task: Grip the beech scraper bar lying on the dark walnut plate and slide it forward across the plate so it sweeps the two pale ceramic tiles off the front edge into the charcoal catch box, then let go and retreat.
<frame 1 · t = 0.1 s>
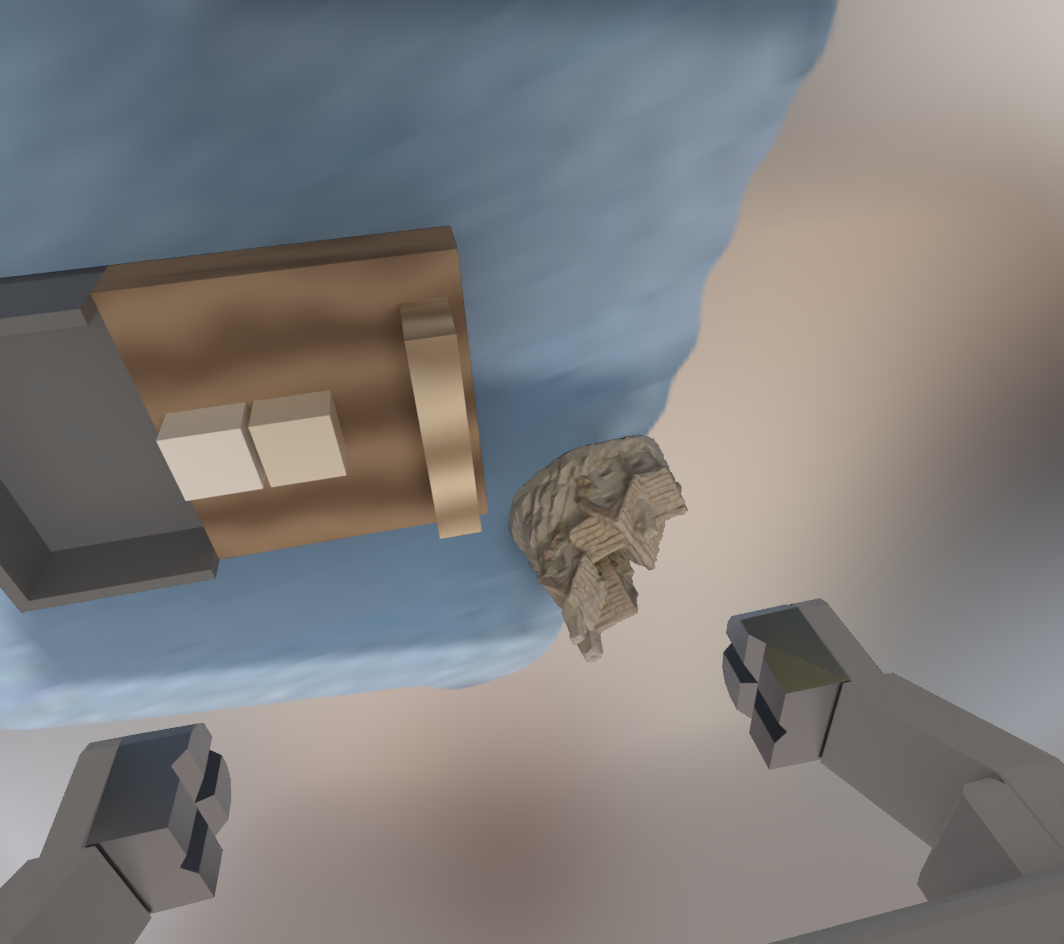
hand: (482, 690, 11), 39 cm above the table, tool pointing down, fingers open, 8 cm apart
scraper bar: (439, 405, 49), point 4 cm above the table, touching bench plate
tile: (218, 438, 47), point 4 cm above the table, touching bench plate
ceramic cottage: (593, 511, 64), on the table
catch box: (74, 427, 48), on the table
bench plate: (325, 391, 51), on the table
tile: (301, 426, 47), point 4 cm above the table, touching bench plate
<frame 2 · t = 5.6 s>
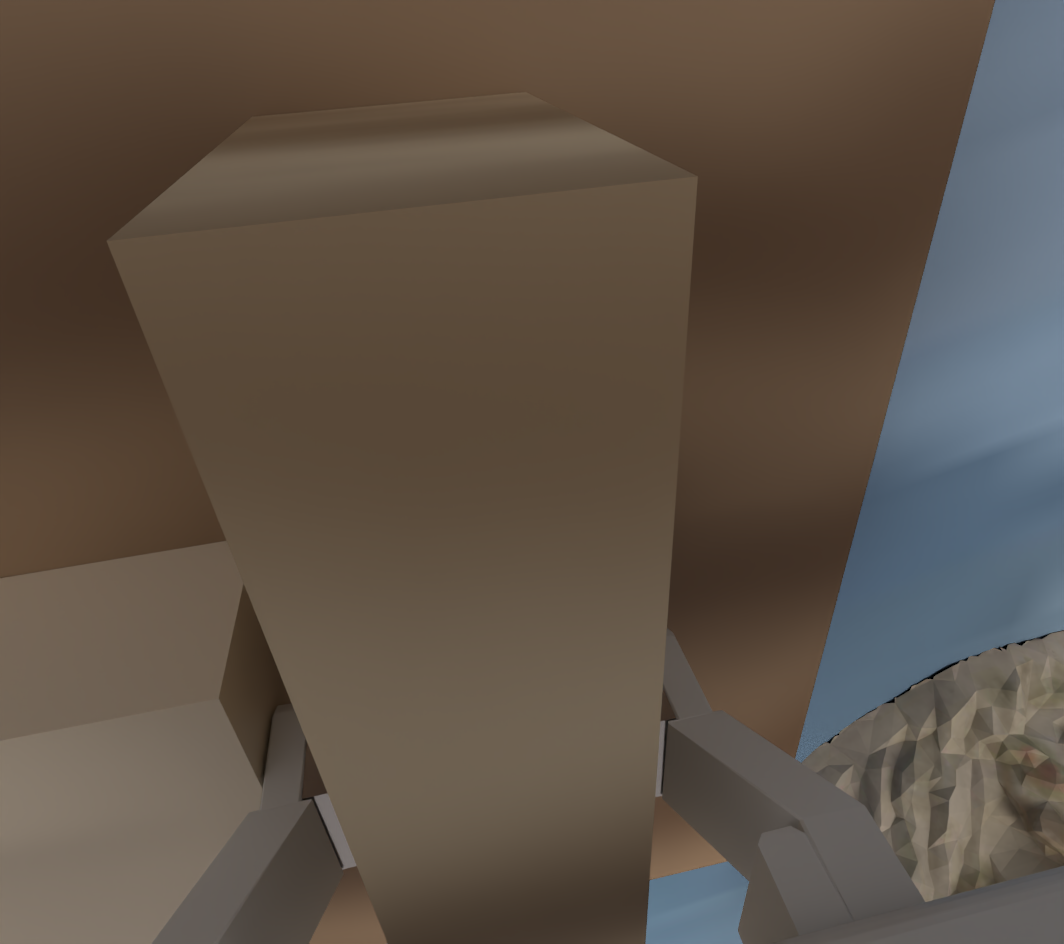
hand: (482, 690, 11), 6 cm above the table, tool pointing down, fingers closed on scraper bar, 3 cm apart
scraper bar: (472, 618, 12), point 4 cm above the table, touching gripper
ceramic cottage: (946, 774, 28), on the table
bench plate: (298, 512, 15), on the table
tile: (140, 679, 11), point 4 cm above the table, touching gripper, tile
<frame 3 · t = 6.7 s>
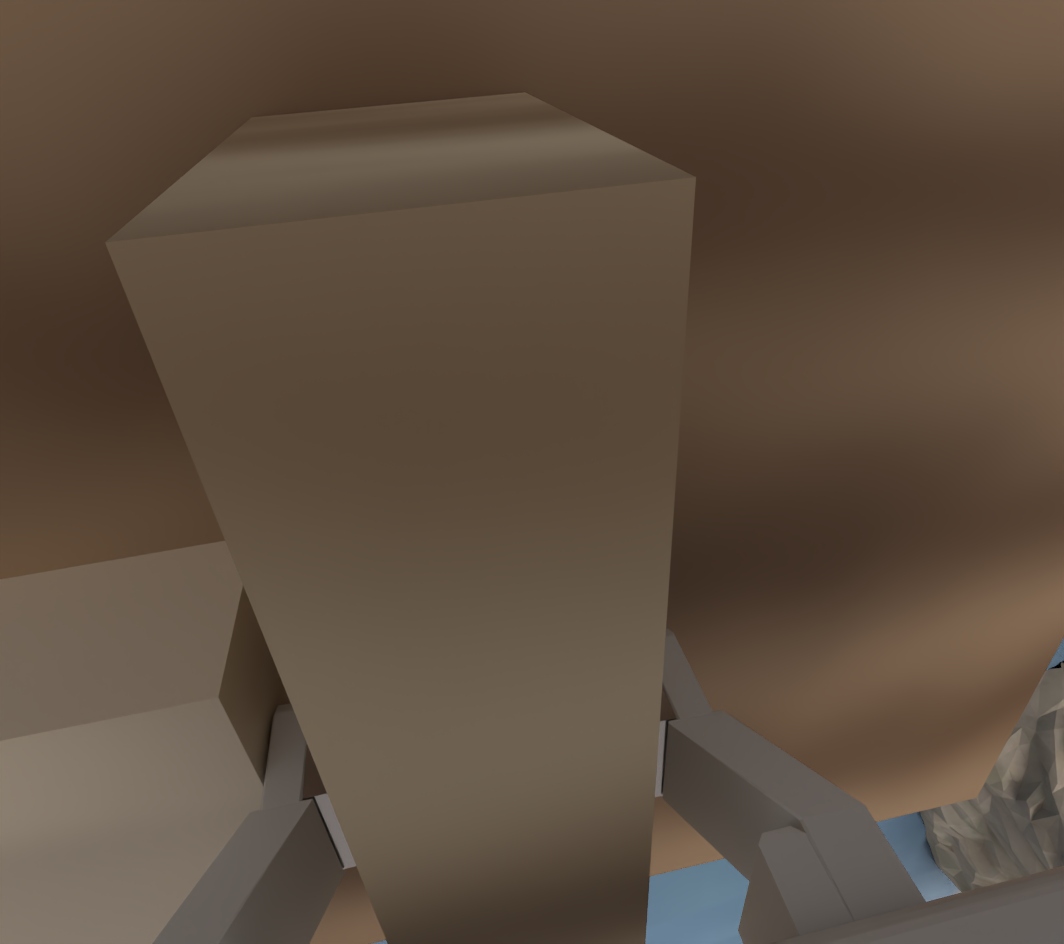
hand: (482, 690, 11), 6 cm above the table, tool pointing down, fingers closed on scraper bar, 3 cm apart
scraper bar: (472, 618, 12), point 4 cm above the table, touching gripper
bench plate: (585, 463, 16), on the table
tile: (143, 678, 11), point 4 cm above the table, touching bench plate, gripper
when the fingers open (6 cm above the table, at t = 9.5 s): scraper bar stays where it is, resting on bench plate.
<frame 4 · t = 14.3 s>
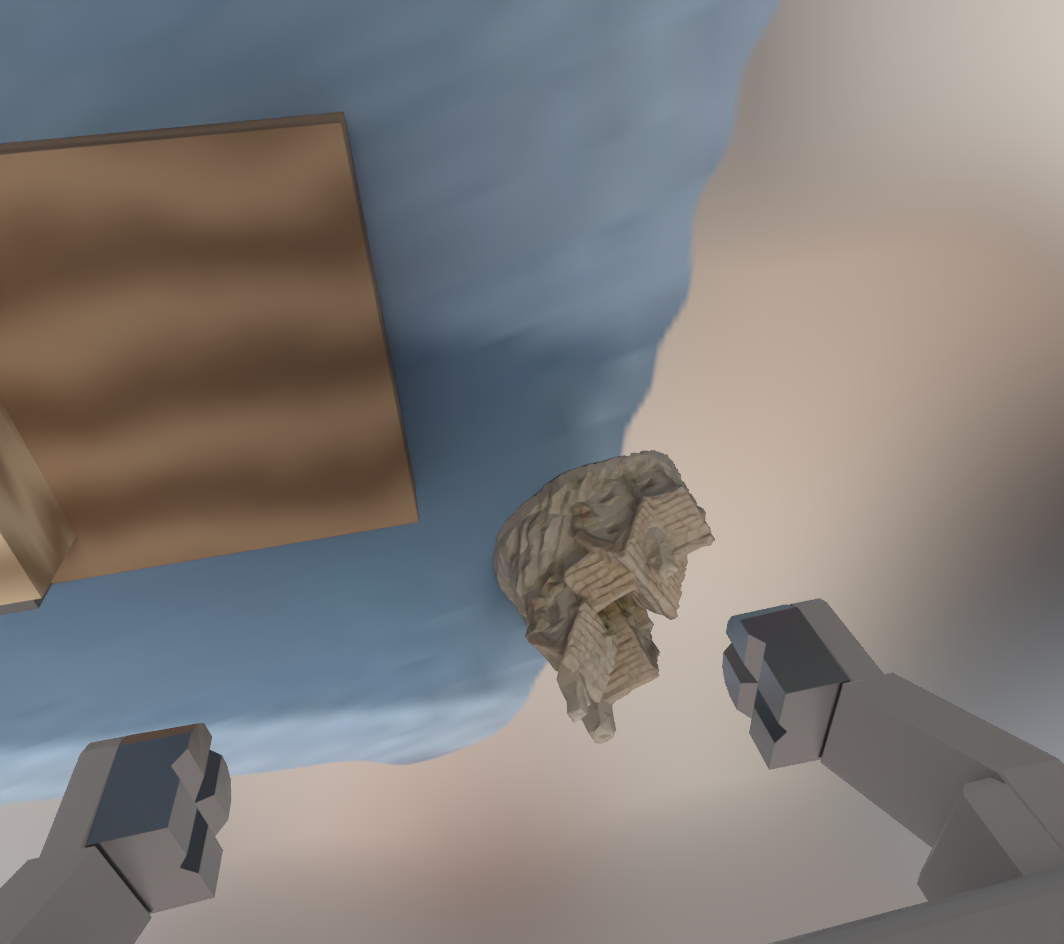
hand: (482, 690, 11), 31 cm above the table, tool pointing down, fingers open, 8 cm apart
ceramic cottage: (598, 550, 52), on the table
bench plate: (192, 353, 38), on the table
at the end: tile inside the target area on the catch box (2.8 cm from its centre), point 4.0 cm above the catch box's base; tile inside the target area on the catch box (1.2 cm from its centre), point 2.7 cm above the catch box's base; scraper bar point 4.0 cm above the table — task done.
